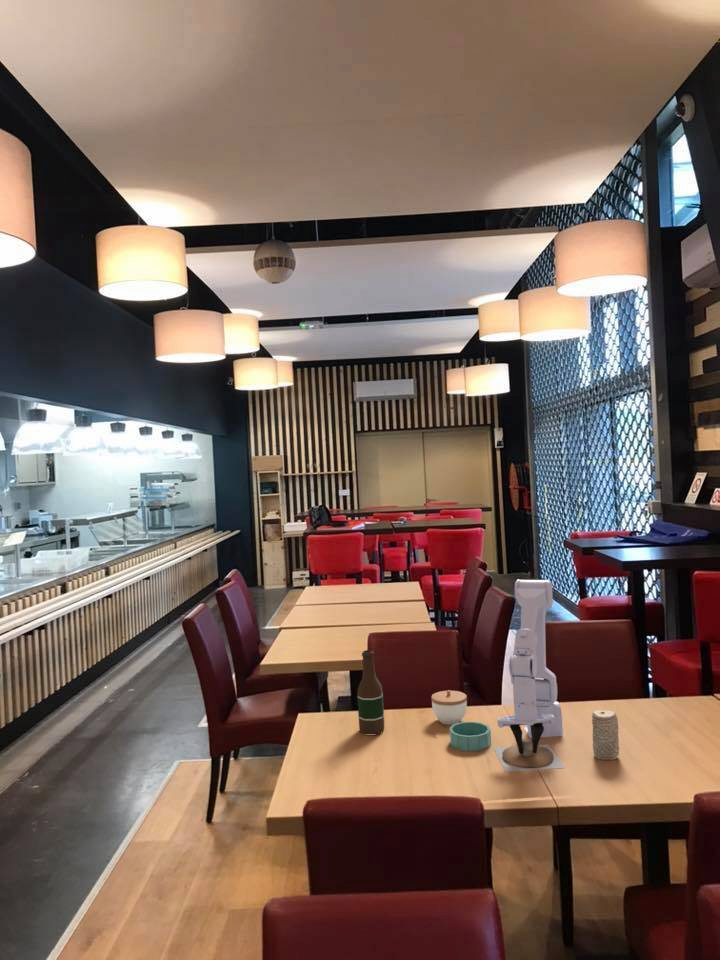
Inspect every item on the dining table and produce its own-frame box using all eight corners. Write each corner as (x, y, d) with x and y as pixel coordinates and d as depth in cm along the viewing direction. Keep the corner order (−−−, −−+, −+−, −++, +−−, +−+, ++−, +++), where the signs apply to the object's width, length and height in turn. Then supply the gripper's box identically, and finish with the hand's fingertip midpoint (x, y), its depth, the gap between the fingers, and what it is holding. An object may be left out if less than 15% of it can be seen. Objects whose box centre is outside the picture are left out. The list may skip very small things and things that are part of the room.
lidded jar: (467, 714, 221) (465, 684, 221) (468, 727, 211) (467, 696, 211) (432, 715, 223) (430, 685, 222) (432, 728, 212) (430, 697, 212)
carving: (589, 761, 183) (587, 714, 183) (599, 750, 189) (596, 706, 189) (614, 766, 179) (611, 719, 179) (623, 755, 185) (621, 709, 185)
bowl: (486, 736, 203) (485, 720, 203) (494, 751, 192) (493, 735, 192) (448, 738, 203) (447, 722, 203) (453, 754, 192) (453, 737, 192)
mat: (548, 746, 194) (548, 744, 193) (565, 770, 178) (564, 767, 178) (493, 750, 193) (493, 747, 193) (505, 773, 178) (505, 771, 178)
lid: (545, 746, 193) (544, 730, 192) (560, 766, 180) (559, 749, 179) (497, 749, 192) (496, 733, 192) (508, 769, 179) (508, 752, 179)
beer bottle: (389, 728, 214) (385, 649, 213) (376, 737, 207) (372, 655, 206) (368, 724, 218) (363, 646, 217) (354, 733, 211) (349, 653, 211)
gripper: (500, 707, 181) (503, 760, 182) (556, 704, 182) (559, 756, 182) (494, 698, 189) (497, 749, 189) (549, 695, 189) (551, 745, 189)
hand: (527, 752), depth 186 cm, fingers closed on lid, 3 cm apart
